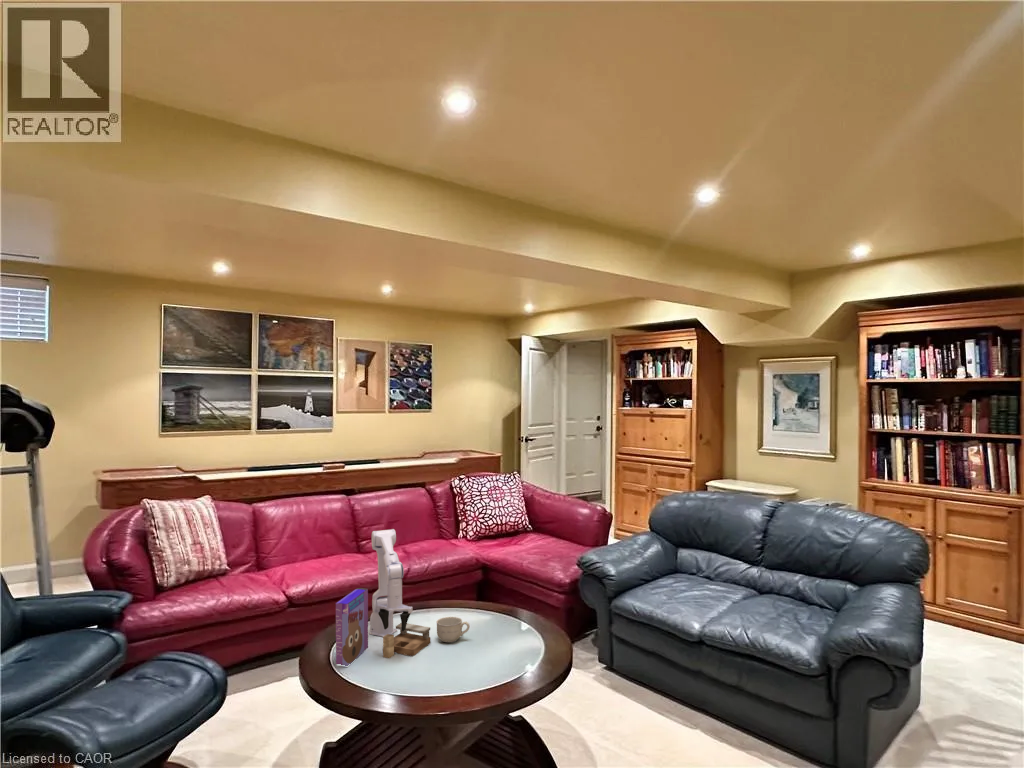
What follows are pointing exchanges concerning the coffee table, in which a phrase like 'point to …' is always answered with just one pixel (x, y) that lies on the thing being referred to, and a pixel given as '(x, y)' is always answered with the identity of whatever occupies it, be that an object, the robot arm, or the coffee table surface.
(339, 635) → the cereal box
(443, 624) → the teacup
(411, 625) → the socket block
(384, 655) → the peg
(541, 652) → the coffee table surface
